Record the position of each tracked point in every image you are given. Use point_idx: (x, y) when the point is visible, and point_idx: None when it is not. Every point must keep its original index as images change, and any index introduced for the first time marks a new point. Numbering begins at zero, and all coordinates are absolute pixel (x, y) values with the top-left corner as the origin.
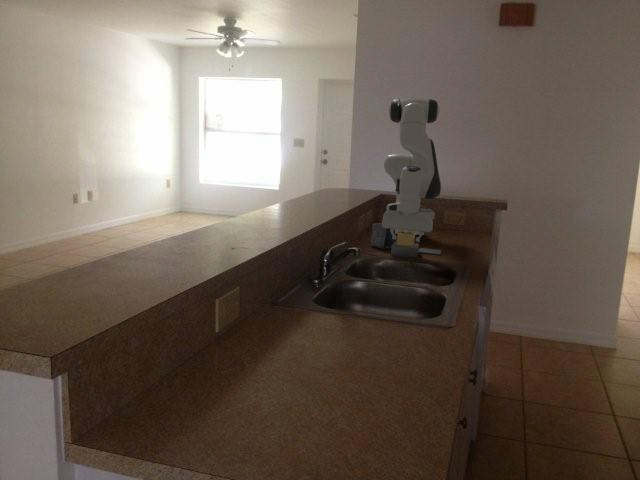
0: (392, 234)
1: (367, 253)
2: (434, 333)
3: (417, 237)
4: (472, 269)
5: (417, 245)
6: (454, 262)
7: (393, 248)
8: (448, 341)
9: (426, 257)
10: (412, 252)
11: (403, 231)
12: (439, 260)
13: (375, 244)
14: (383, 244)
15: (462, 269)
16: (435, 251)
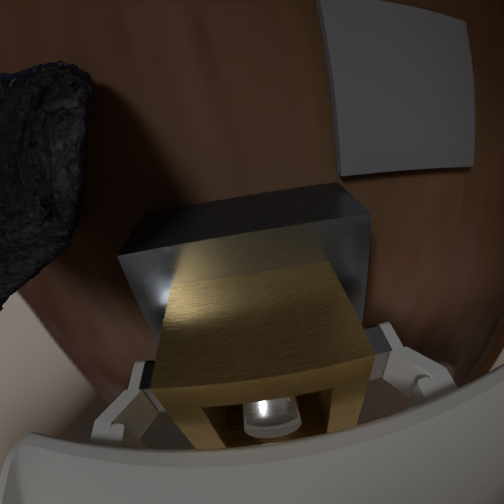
0: (143, 420)
1: (90, 366)
2: None
3: (380, 359)
4: (500, 336)
5: (360, 296)
6: (489, 286)
7: None
8: None
9: (394, 274)
10: None
11: (217, 405)
12: (445, 295)
13: (1, 220)
14: (51, 249)
15: (474, 357)
16: (447, 90)
